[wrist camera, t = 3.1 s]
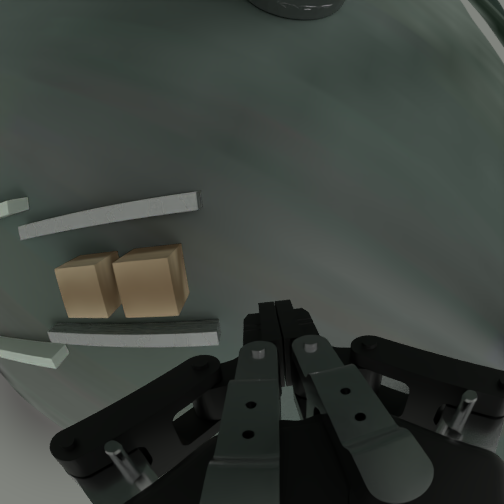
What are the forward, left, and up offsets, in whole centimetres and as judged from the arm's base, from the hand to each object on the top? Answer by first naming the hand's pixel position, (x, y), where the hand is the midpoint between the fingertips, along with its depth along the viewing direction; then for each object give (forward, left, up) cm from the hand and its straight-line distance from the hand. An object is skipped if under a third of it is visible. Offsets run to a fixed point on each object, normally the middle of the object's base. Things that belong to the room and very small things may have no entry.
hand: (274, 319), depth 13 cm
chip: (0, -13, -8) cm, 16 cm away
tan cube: (0, -8, -9) cm, 12 cm away
